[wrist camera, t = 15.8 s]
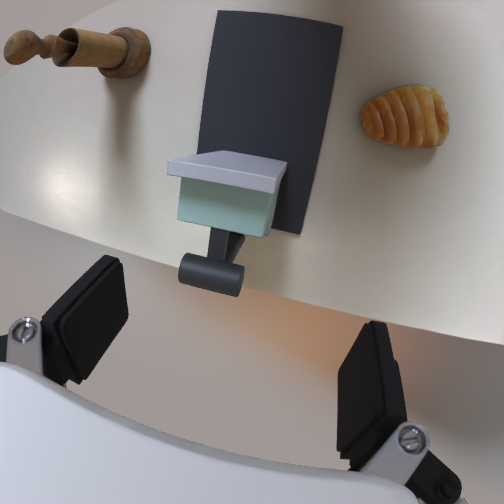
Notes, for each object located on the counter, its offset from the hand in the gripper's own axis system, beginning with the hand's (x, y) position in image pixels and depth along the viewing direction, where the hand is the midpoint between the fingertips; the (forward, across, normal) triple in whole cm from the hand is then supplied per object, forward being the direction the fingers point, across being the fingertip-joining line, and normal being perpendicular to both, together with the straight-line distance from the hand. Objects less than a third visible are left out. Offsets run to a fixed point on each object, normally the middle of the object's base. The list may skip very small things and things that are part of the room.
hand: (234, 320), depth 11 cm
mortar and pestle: (+24, +21, -11) cm, 34 cm away
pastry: (+24, -11, -9) cm, 28 cm away
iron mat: (+24, +4, -5) cm, 25 cm away
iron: (+16, +4, -2) cm, 17 cm away
